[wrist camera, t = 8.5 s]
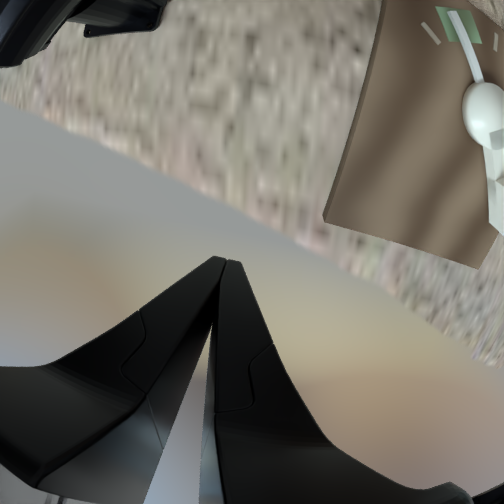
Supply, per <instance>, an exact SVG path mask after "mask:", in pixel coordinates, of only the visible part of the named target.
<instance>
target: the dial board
mask: <svg viewBox="0 0 504 504" xmlns="http://www.w3.org/2000/svg"><path fill="white" fill-rule="evenodd" d="M448 11H457V13H458V15H459V17H460V20H461V22H462V24H463V26H464V28H465V30H466V33H467V35H468V37H469V40H470V42H471V45H472V47H473V50H474V52H475V55H476V58H477V61H478V63H479V66H480V69H481V72H482V76H483V79H484V82H485V83H492V84H495V85H497V86H499V87H500V88H501V89H502V90H503V91H504V31H503V30H502V29H501V28H500V27H499V26H498V25H497V24H496V23H494V22H493V21H492V20H491V19H490V18H489V17H487V16H486V15H485V14H484V13H482V12H481V11H480V10H479V9H477V8H476V7H475V6H474V5H472V4H471V3H470V2H468V1H467V0H383V1H382V6H381V11H380V16H379V21H378V25H377V30H376V34H375V39H374V43H373V47H372V52H371V56H370V60H369V64H368V68H367V72H366V76H365V80H364V83H363V87H362V91H361V94H360V98H359V102H358V105H357V109H356V112H355V116H354V119H353V123H352V126H351V129H350V133H349V136H348V139H347V142H346V146H345V149H344V152H343V155H342V158H341V162H340V165H339V168H338V171H337V174H336V177H335V180H334V183H333V186H332V189H331V192H330V195H329V198H328V200H327V203H326V206H325V209H324V212H323V219H324V222H325V223H329V224H333V225H337V226H340V227H344V228H347V229H351V230H355V231H358V232H362V233H365V234H369V235H372V236H376V237H379V238H383V239H386V240H389V241H393V242H396V243H399V244H402V245H406V246H409V247H412V248H415V249H418V250H422V251H425V252H428V253H431V254H434V255H437V256H440V257H443V258H446V259H449V260H452V261H455V262H458V263H461V264H464V265H467V266H469V267H472V268H475V269H479V268H480V266H481V264H482V263H483V261H484V259H485V257H486V256H487V254H488V252H489V250H490V248H491V247H492V245H493V243H494V241H495V239H496V237H497V235H498V233H499V231H498V230H497V229H496V228H495V227H494V226H492V225H491V224H490V223H489V202H488V186H487V175H486V166H485V158H484V151H483V146H482V145H480V144H478V143H477V142H475V141H474V140H473V139H472V137H471V136H470V135H469V133H468V131H467V129H466V127H465V124H464V120H463V115H462V102H463V97H464V94H465V92H466V90H467V88H468V87H469V86H470V85H471V84H473V83H475V80H474V77H473V74H472V71H471V68H470V65H469V62H468V59H467V57H466V54H465V51H464V49H463V46H462V44H461V41H460V39H459V37H458V34H457V32H456V30H455V28H454V26H453V24H452V21H451V19H450V17H449V15H448V13H447V12H448Z"/></svg>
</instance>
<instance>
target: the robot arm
mask: <svg viewBox="0 0 504 504" xmlns="http://www.w3.org/2000/svg"><path fill="white" fill-rule="evenodd" d="M166 3H167V0H0V68H9V67H14V66H18V65H21V64H22V62H23V61H24V59H28V58H30V57H32V56H34V55H36V54H37V53H38V52H39V51H42V50H44V49H46V48H47V47H48V45H49V44H50V43H51V39H52V38H53V37H54V35H55V34H56V33H57V32H58V30H59V29H60V28H61V27H62V25H63V24H64V23H65V22H66V21H68V22H76V23H82V24H86V25H85V29H84V37H86V38H92V37H99V36H106V35H114V34H123V33H135V32H151V31H154V30H156V28H157V27H158V25H159V21H160V17H161V13H162V9H163V7H164V6H165V5H166ZM150 23H153V25H152V26H151V27H150V28H149V24H150ZM90 30H91V32H90V34H89V31H90ZM211 326H212V330H211V337H210V347H209V358H208V369H207V380H206V392H205V404H204V405H205V406H204V419H203V432H202V449H201V466H200V488H199V504H504V482H503V483H502V484H500V485H498V486H496V487H493V488H491V489H489V490H487V491H485V492H483V493H481V494H478V495H476V496H473V497H470V495H469V494H468V493H467V492H466V491H465V490H463V489H462V488H460V487H458V486H457V485H455V484H454V483H452V482H447V483H444V484H441V485H438V486H435V487H432V488H429V489H424V490H422V489H413V488H409V487H405V486H403V485H401V484H398V483H396V482H394V481H393V480H391V479H389V478H387V477H385V476H383V475H381V474H380V473H378V472H376V471H374V470H373V469H371V468H369V467H367V466H366V465H364V464H362V463H361V462H359V461H358V460H356V459H354V458H352V457H351V456H349V455H348V454H346V453H345V452H343V451H342V450H340V449H338V448H337V447H336V446H335V445H334V444H333V443H332V442H331V441H329V440H328V438H327V437H326V436H325V435H324V433H323V432H322V431H321V429H320V427H319V426H318V424H317V423H316V421H315V419H314V418H313V416H312V415H311V413H310V411H309V410H308V408H307V406H306V405H305V403H304V401H303V400H302V398H301V396H300V395H299V393H298V391H297V390H296V388H295V386H294V384H293V383H292V381H291V379H290V377H289V375H288V374H287V372H286V370H285V368H284V365H283V363H282V361H281V359H280V357H279V354H278V352H277V349H276V347H275V345H274V344H273V340H272V338H271V335H270V333H269V330H268V328H267V325H266V323H265V320H264V318H263V315H262V313H261V311H260V308H259V306H258V303H257V301H256V298H255V296H254V294H253V291H252V288H251V286H250V283H249V281H248V278H247V276H246V273H245V271H244V268H243V266H242V264H241V262H239V261H235V260H230V259H229V260H226V259H225V258H222V257H218V256H212V257H211V258H209V259H208V260H207V261H205V262H204V263H202V264H201V265H200V266H198V267H197V268H195V269H194V270H193V271H191V272H190V273H188V274H187V275H186V276H184V277H183V278H181V279H180V280H179V281H177V282H176V283H174V284H173V285H172V286H170V287H169V288H168V289H166V290H165V291H163V292H162V293H161V294H159V295H158V296H156V297H155V298H154V299H152V300H151V301H150V302H148V303H147V304H145V305H144V306H143V307H141V308H140V309H139V311H136V312H134V313H133V314H132V315H130V316H129V317H128V318H126V319H125V320H123V321H122V322H120V323H119V324H117V325H116V326H115V327H113V328H111V329H110V330H108V331H106V332H105V333H103V334H101V335H100V336H98V337H97V338H95V339H93V340H91V341H89V342H88V343H86V344H84V345H82V346H81V347H79V348H77V349H75V350H74V351H72V352H70V353H68V354H67V355H65V356H63V357H62V358H60V359H58V360H56V361H54V362H51V363H49V364H46V365H42V366H35V367H5V366H4V367H2V366H0V504H143V503H144V500H145V497H146V495H147V492H148V489H149V487H150V484H151V481H152V478H153V476H154V473H155V471H156V468H157V465H158V463H159V460H160V458H161V455H162V453H163V449H164V447H165V445H166V442H167V439H168V437H169V434H170V431H171V429H172V426H173V424H174V421H175V419H176V416H177V414H178V411H179V408H180V405H181V403H182V401H183V398H184V395H185V393H186V391H187V388H188V386H189V383H190V380H191V378H192V375H193V373H194V370H195V368H196V365H197V362H198V360H199V358H200V355H201V353H202V350H203V347H204V345H205V342H206V340H207V338H208V335H209V332H210V329H211Z"/></svg>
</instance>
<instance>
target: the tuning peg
mask: <svg viewBox="0 0 504 504" xmlns="http://www.w3.org/2000/svg"><path fill="white" fill-rule="evenodd" d="M447 13H448V15H449V17H450V19H451V21H452V24H453V26H454V28H455V30H456V32H457V34H458V37H459V39H460V41H461V44H462V46H463V49H464V51H465V54H466V57H467V59H468V62H469V65H470V68H471V71H472V74H473V77H474V80H475V83H473V84H471V85H470V86H469V87H468V88H467V90H466V92H465V94H464V97H463V102H462V115H463V120H464V124H465V127H466V129H467V131H468V133H469V135H470V136H471V137H472V139H473V140H474V141H475V142H477V143H478V144H480V145H482V146H483V151H484V158H485V166H486V175H487V186H488V202H489V223H490V224H491V225H492V226H494V227H495V228H496V229H497V230H498V231H499V232H500V233H501V234H502V235H503V236H504V91H503V90H502V89H501V88H500V87H499V86H497V85H495V84H492V83H485V82H484V79H483V76H482V72H481V69H480V66H479V63H478V61H477V58H476V55H475V52H474V50H473V47H472V45H471V42H470V40H469V37H468V35H467V33H466V30H465V28H464V26H463V24H462V22H461V20H460V17H459V15H458V13H457V11H448V12H447Z"/></svg>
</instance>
